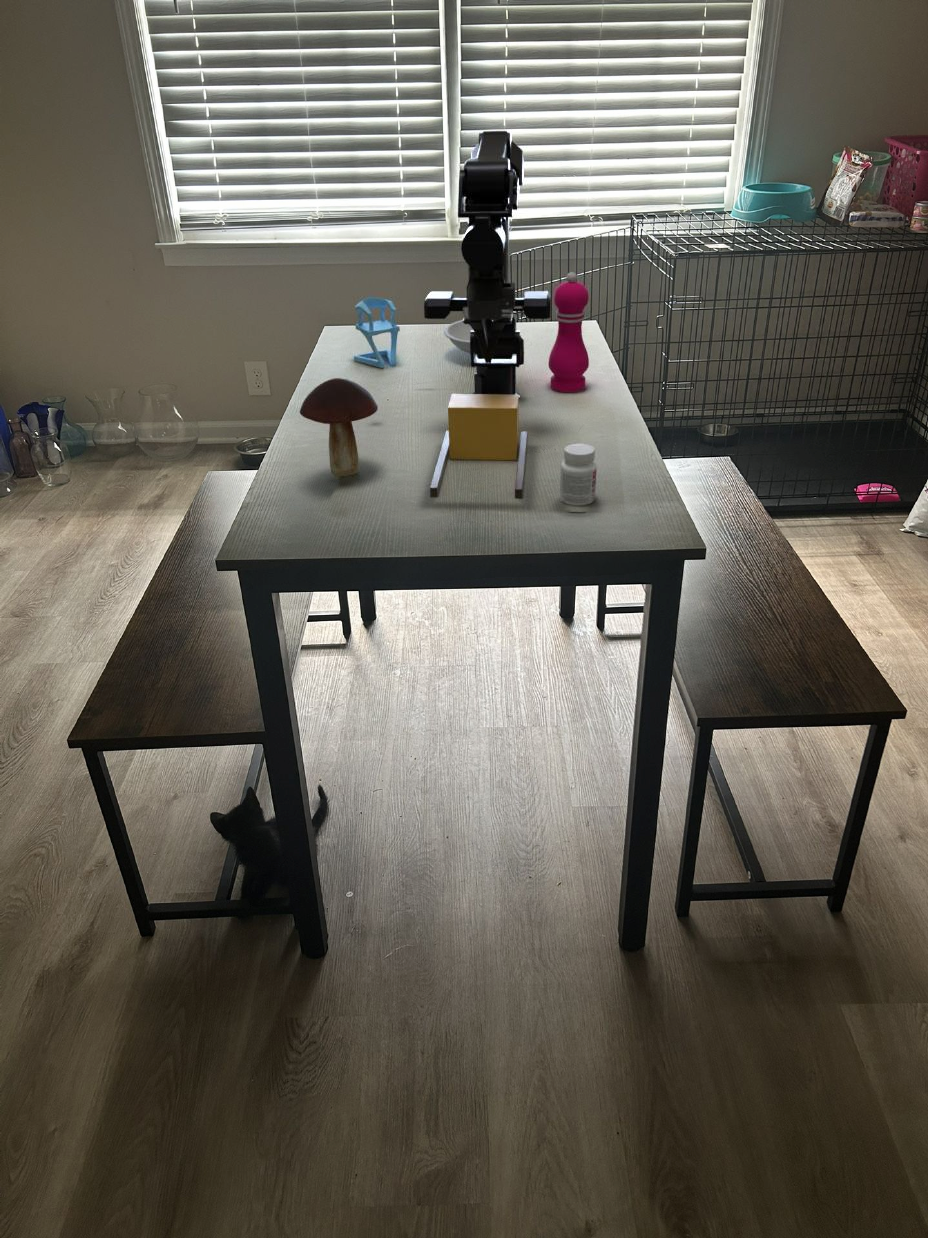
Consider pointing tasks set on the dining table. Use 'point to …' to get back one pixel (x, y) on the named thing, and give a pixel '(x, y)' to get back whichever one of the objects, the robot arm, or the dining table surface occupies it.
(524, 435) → the maple track
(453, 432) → the ochre block
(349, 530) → the dining table surface
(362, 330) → the chair
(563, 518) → the dining table surface
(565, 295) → the pepper mill
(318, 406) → the decorative mushroom
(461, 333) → the dish
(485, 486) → the dining table surface
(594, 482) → the pill bottle
